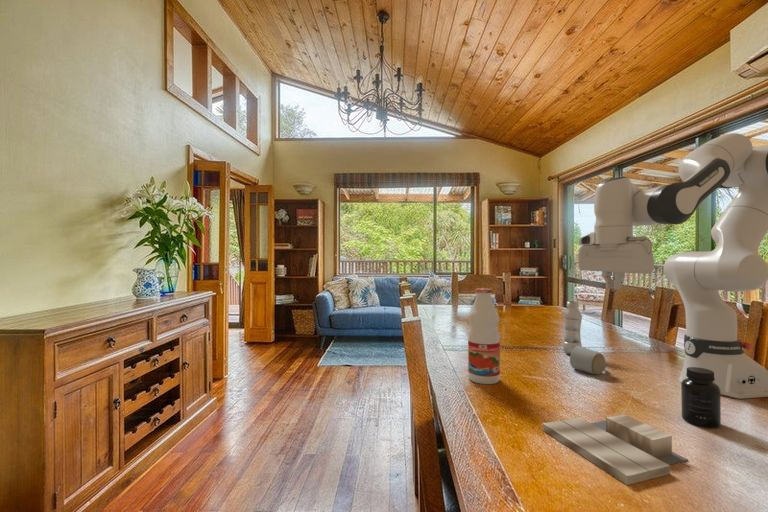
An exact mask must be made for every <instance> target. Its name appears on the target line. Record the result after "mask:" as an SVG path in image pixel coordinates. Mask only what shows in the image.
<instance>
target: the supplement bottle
mask: <svg viewBox="0 0 768 512" xmlns="http://www.w3.org/2000/svg"><path fill="white" fill-rule="evenodd" d="M686 376H687V377H688V378H686V379H684V380H683V381H682V383H681V382H680V383H681V384H680V387H681V388H680V389H681V395H680V396H681V397H680V398H681V400H680V401H681V402H680V403H681V418H682V420H684V421H685V422H686V423H689V424H690V425H693V426H697V427H700V428H705V429H717V428H719V427H721V425H722V423H721V419H722V417H721V416H722V411H721V410H722V408H721V407H722V405H721V404H722V403H721V395H722V394H720V388H719V386H718V385H717V384H715V383H714V382H713V381H715V378H714V372H713V371H711V370H708V369H704V368H698V367H688V368H687V374H686Z"/></svg>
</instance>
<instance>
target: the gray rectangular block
mask: <svg viewBox="0 0 768 512" xmlns="http://www.w3.org/2000/svg"><path fill="white" fill-rule="evenodd" d="M605 420H606V432H608V433H610V434H611V435H613V436H615V437H617V438H619V439H621V440H623V441H625V442H627V443H628V444H630V445H632V446H634V447H636V448H638V449H640V450H642V451H644V452H645V453H647V454H649V455H651V456H653V457H655V458H657V457H661V456H665V455H669V454H672V452H673V450H672V448H673V447H672V445H673V444H672V443H673V441H672V439H673V438H672V437H673V436H672V435H671V434H668V433H666V432H664V431H662V430H660V429H657V428H655V427H654V426H652V425H649V424H647V423H644V422H642V421H640V420H637V419H635V418H634V417H631V416H629V415H626V414H624V413H623V414H622V413H621V414H615V415H611V416H607V417H605Z"/></svg>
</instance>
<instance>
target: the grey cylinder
mask: <svg viewBox="0 0 768 512" xmlns="http://www.w3.org/2000/svg"><path fill="white" fill-rule="evenodd" d="M569 355H570V356H569V364H570V366H571V368H572V369H574V370H577V371H580V372H584V373H588V374H591V375H595V376H597V375H600V374H602V373H603V372H604V371H605V369H606V358H605V356H604V354H602V353H600V352H598V351H596V350H593V349H590V348H586V347H583V346H582V347H581V346H576V347H575V348H574V349H573V350H572V352H571V354H569Z"/></svg>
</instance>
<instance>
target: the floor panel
mask: <svg viewBox="0 0 768 512" xmlns="http://www.w3.org/2000/svg"><path fill="white" fill-rule="evenodd" d="M591 423H592V422H588V421H587V420H585V419H583V418H581V417H579V416H577V417H571V418H566V419H560V420H555V421H549V422H542V431H543V432H544V433H545V434H547V435H549V436H550V437H552V438H554V439H555V440H557V441H558V442H559V443H562V444H563V445H564V446H566V447H568V448H569V449H571V450H572V451H574V452H575V453H577V454H578V455H580V456H582V457H583V458H584V459H586V460H588V461H589V462H591V463H593V464H594V465H595V466H597V467H599V468H600V469H601V470H603V471H604V472H606V473H608V474H609V475H610V476H612V477H614V478H615V479H617V480H619V481H620V482H622V483H623V484H625V485H626V486H629V485H634V484H637V483H641V482H645V481H649V480H652V479H655V478H660V477H663V476H667V475H670V474H671V465H668V464H666V463H664V462H662V461H661V460H659V459H657V458H655V457H653V456H651V455H649V454H647V453H645V452H644V451H642V450H640V449H638V448H636V447H634V446H632V445H630V444H628V443H627V442H625V441H623V440H621V439H619V438H617V437H615V436H613V435H611V434H610V433H608V432H606V431H604V430H602V429H600V428H598V427H596V426H594V425H593V424H591Z"/></svg>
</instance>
